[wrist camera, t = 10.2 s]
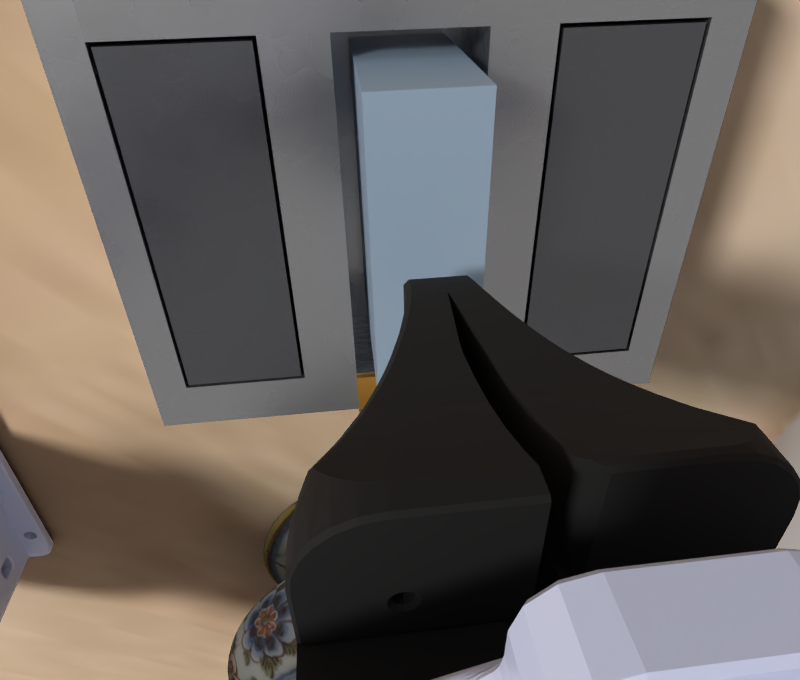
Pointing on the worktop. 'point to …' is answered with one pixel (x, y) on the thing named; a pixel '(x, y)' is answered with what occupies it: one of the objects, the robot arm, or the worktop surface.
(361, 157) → the block
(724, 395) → the worktop surface
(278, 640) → the apothecary jar
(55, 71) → the rack
